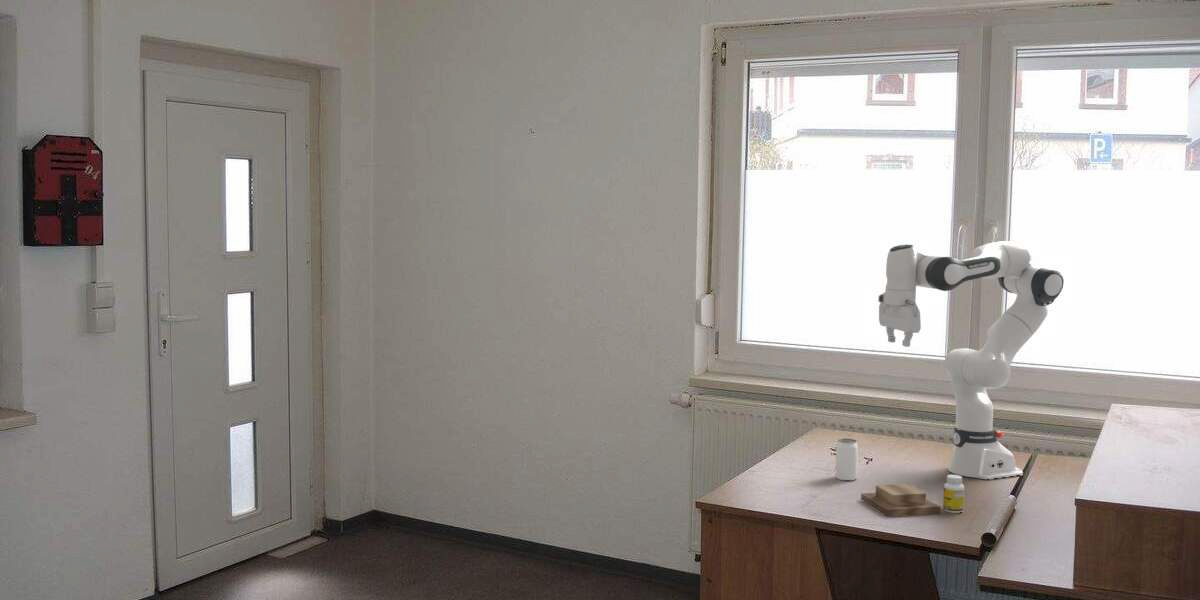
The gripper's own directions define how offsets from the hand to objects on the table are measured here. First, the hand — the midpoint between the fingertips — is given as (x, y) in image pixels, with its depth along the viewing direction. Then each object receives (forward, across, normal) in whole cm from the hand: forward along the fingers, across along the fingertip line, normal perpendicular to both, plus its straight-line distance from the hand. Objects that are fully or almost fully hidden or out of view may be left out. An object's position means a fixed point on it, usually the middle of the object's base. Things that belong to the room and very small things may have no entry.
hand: (898, 344), depth 315 cm
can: (+43, +6, +13) cm, 45 cm away
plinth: (+43, -24, +10) cm, 50 cm away
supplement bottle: (+43, -30, -3) cm, 53 cm away
